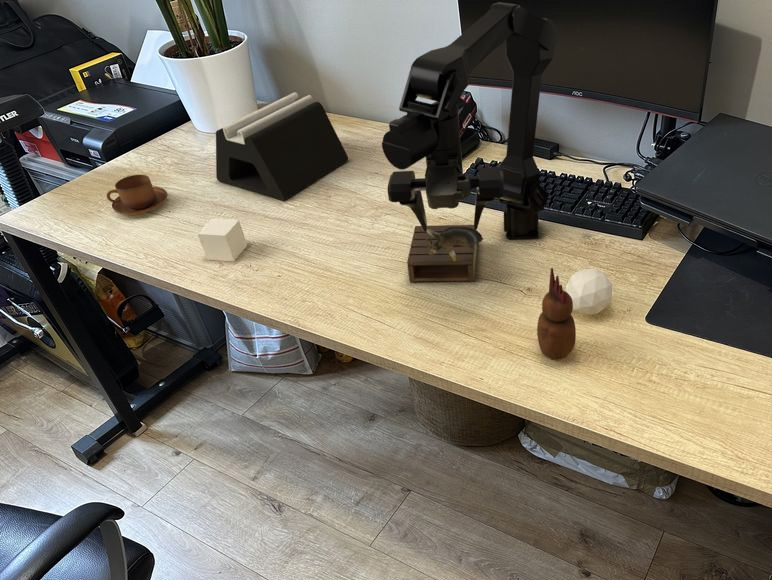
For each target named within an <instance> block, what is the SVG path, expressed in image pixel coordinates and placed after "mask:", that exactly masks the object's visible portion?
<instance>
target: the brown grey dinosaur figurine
mask: <svg viewBox="0 0 772 580" xmlns="http://www.w3.org/2000/svg"><path fill="white" fill-rule="evenodd" d="M426 232H427V233H429V234H430V235H431V236H433V237H435V238H436V239H437V240H438V241H437V242H434V243H432V241H431V240H429V239H425V240H427V241H428V242H429V245H430V246H429V245H428V244H425V245H426V246H427V247H428V248H429V250H430V254H429V257H431V256H434V255H435V254H437V253H438V250H439V249H441V248H443V249H444V250H445V251H446V252H447V253H448V254H449V255H450V256H451V257H452V258H453V260H454V261H455V260H456V255H455V252H454V250H453V246H455V245H457V246H462V247H465V248H468V249H470V250H473V249H474V247H475V246H474V245H477V246H478V245H479V244H480V243H482V242H483V240H484V237H483V234H481V232H479V231H478V229H477V230H475V229H472V228H468V227H449V228H447V229H445V230H444V231H443V232H442V233H441V234H440V233H436V232H434V231H433V230H430V229H427V231H426Z"/></svg>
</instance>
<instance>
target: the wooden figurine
mask: <svg viewBox="0 0 772 580" xmlns="http://www.w3.org/2000/svg"><path fill="white" fill-rule="evenodd" d="M541 311H542V312H541V313H540V314H539V316H538V320H537V325H536V327H537V328H536V333H537V341H538V346H539V349H540V351H541V353H542V354H543V355H544V356H545V357H546V358H548V359H550V360H554V361H559V360H562V359H566V358H567V357H568V356H569V355H570V354H571V353H572V351H573V349H574V348H575V344H576V339H577V337H576V335H577V331H576V329H577V328H576V323H575V319H574V317H573V315H572V314H573V311H574V309H573V302H572V298H571V296H570V295H569V294H568V293H567V292H566V290H563V285H562V284H560V279H559V275H556V276H555V273H554V268H553V267H550V272H549V284H548V292H547V293H546V294H544V295H543V298H542V303H541Z"/></svg>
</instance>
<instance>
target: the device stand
mask: <svg viewBox="0 0 772 580" xmlns="http://www.w3.org/2000/svg"><path fill="white" fill-rule="evenodd" d="M298 98H299V94H298V93H297V92H291V93H290V94H287V95H286V96H284V97H281V98H280V99H278V100H275V101H274V102H271V103H270V104H268V105H266V106H263V107H261V108H260V109H257V110H255V111H253V112H251V113H249V114H247V115H245V116H243V117H241V118H239V119H237V120H235V121H233V122H231V123H228V124H226V125H225V126H223V127H222V128H220V129H217V130H215V169H216V170H215V177H216V179H217V181H218V182H219V183H222V184H224V185H228V186H231V187H235V188H238V189H242V190H244V191H248V192H251V193H255V194H258V195H262V196H265V197H268V198H272V199H274V200H277V201H281V202H284V201H286V200H287V199H289V198H290V197H292V196H293V195H295V194H297V193H299V192H300V191H302V190H303V189H304V188H305V189H306V187H308V186H311V184H313V183H315V182H316V181H317V180H319V179H321V178H322V177H325V176H326V175H327V174H329V173H330V172H332V171H333V170H335V169H337V168H339V167H341V165H343V164H344V163H347V162H348V161H349V156H348V154H347V152H346V150H345V148H344V145H343V143H342V141H341V140H340V138H339V136H338V134H337V132H336V130H335V128H334V126H333V123H332V121H331V119H330V118H329V116H328V114H327V112H326V110H325V108H324V106H323V105H322V104H321V102H319V101H314V99H313V97H312V95H310V94H308V95H306V96H304V97H301V98H300V99H298ZM297 99H298V100H297Z"/></svg>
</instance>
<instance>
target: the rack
mask: <svg viewBox="0 0 772 580" xmlns="http://www.w3.org/2000/svg"><path fill="white" fill-rule="evenodd" d="M449 227H468V228H472V229H474V224H449V225H448V224H445V225H444V224H443V225H441V224H440V225H427V229H430V230H433V231H434V232H436V233H440V234H441V233H442V232H443V231H444V230H445V229H447V228H449ZM425 239H429V240H431V241H432V243H434V242H437V241H438V240H437V239H436V238H435V237H433V236H431V235H430V234H429V233H427V232H426V231H424V230H423V228H422V226H421V225H414V229H413V233H412V239H411V243H410V248H409V252H408V256H407V261H406V263H407V273H408V280H409V283H412V284H413V283H416V282H460V281H464V282H465V281H467V282H470V283H474V282H475V278H476V277H475V276H476V263H477V252H478V244H477V245H474V246H475V247H474V249H473V250H470V249H468V248H465V247H462V246H457V245H455V246H453V250H454V252H455V255H456V260H455V261H454V260H453V258H452V257H451V256H450V255H449V254H448V253H447V252H446V251H445V250H444V249H443V248H441V249H439V250H438V253H437V254H435V255H434V256H431V257H429V254H430V250H429V248H428V247H427V246H426V245H425V244H428V245H429V242H428V241H427V240H425ZM429 246H430V245H429Z"/></svg>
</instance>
